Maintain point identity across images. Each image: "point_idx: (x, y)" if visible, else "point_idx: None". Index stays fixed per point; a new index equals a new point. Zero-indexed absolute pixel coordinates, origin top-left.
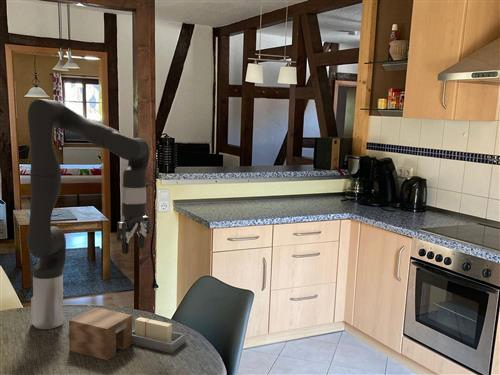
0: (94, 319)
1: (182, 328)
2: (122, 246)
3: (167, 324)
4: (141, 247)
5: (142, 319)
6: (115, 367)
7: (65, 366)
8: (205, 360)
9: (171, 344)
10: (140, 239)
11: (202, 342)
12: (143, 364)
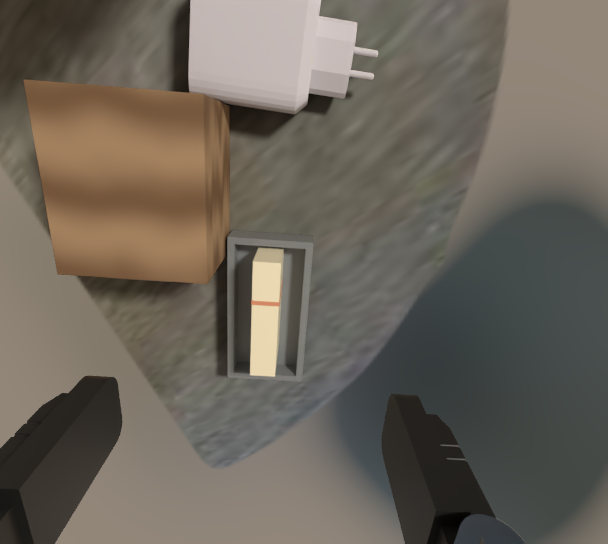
0: (93, 179)
1: (385, 325)
2: (1, 461)
3: (264, 368)
4: (387, 431)
5: (265, 282)
6: (98, 283)
7: (22, 158)
8: (235, 437)
9: (228, 376)
10: (414, 508)
11: (319, 400)
12: (148, 333)
